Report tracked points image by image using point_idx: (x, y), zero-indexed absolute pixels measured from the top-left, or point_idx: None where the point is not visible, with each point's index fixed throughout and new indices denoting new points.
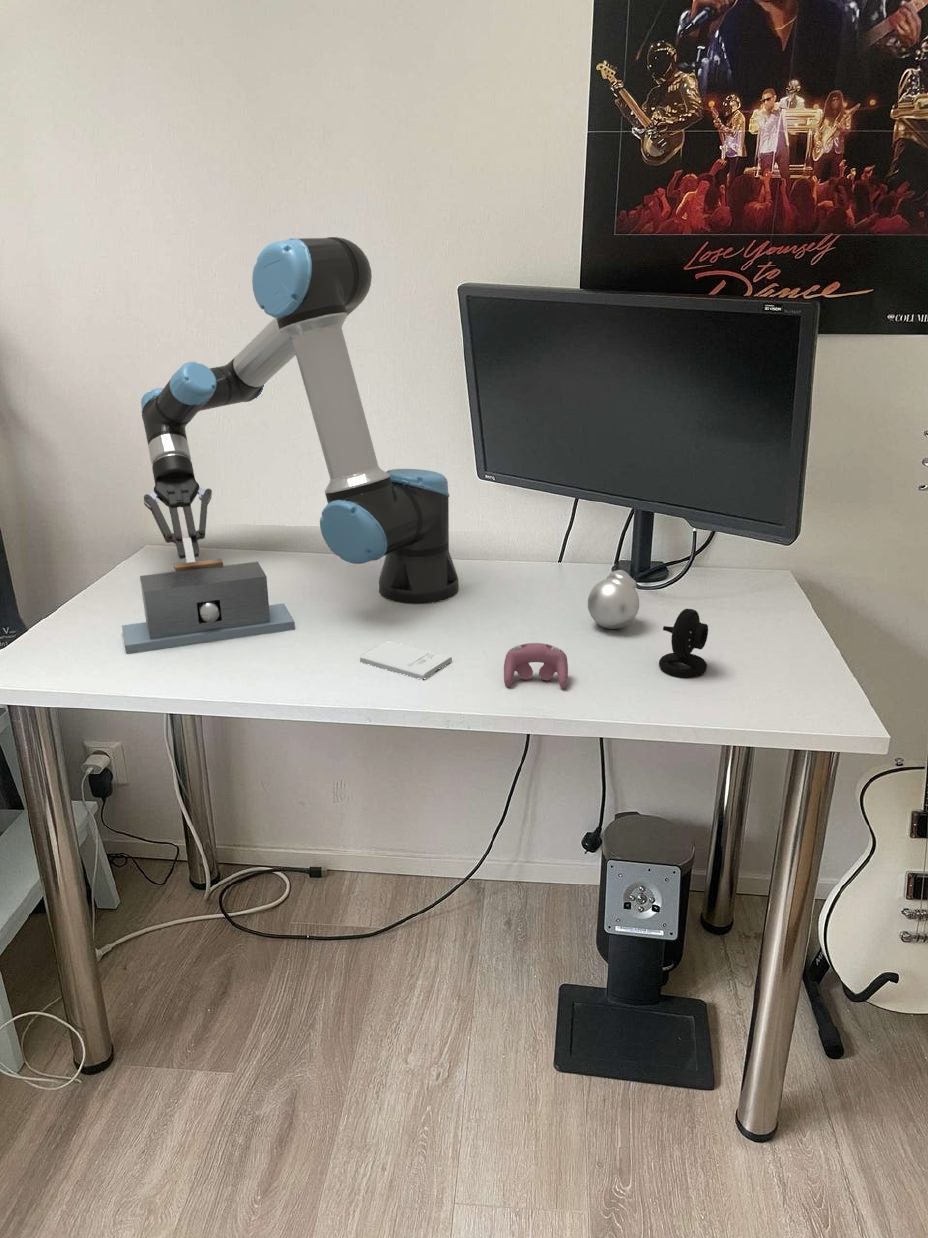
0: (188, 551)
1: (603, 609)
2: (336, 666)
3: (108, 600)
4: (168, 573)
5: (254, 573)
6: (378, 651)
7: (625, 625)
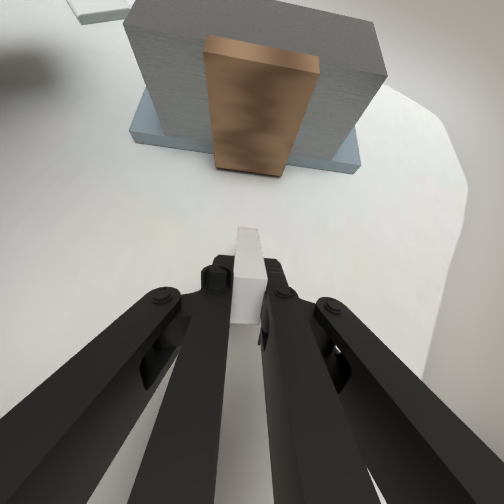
0: (251, 249)
1: None
2: None
3: (385, 309)
4: (331, 61)
5: None
6: (108, 5)
7: None
